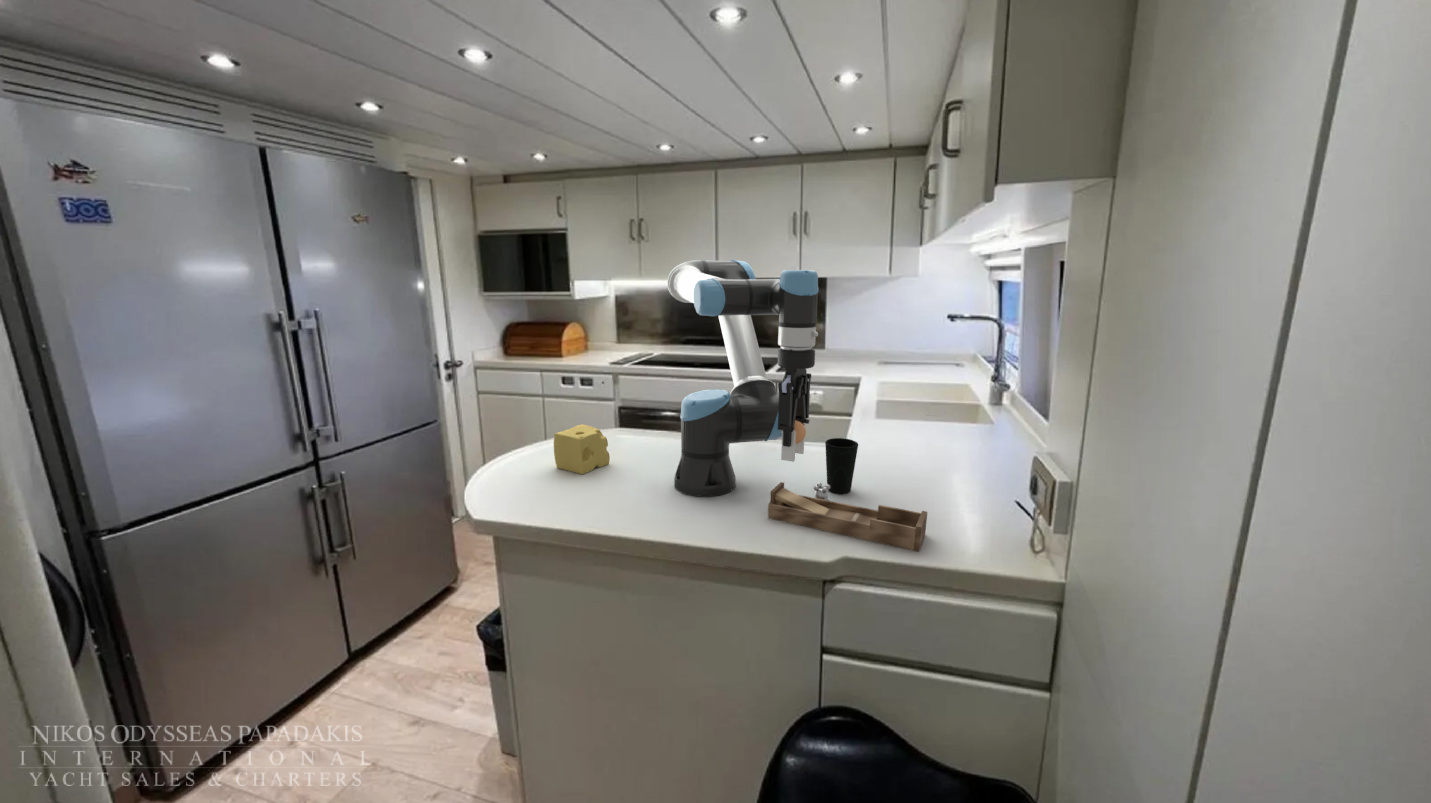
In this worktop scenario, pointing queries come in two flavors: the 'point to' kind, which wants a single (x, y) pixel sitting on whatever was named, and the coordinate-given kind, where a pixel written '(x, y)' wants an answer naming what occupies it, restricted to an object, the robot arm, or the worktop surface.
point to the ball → (799, 431)
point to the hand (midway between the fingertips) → (792, 456)
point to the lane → (850, 519)
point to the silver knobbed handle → (821, 491)
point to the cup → (840, 464)
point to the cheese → (580, 449)
